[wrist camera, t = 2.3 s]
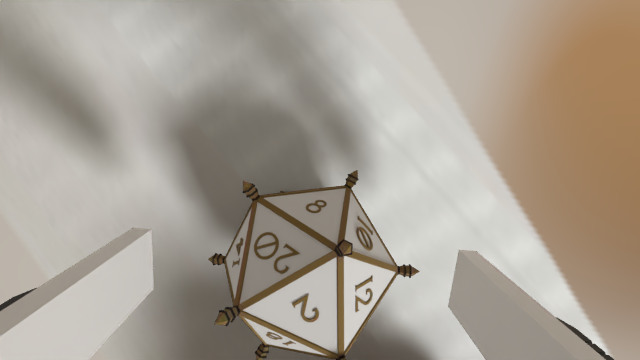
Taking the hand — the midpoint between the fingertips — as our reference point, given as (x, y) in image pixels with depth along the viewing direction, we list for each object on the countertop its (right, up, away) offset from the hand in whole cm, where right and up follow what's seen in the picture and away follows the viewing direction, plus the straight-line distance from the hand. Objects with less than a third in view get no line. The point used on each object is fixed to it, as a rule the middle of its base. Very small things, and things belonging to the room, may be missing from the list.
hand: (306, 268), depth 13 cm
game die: (0, +1, +5) cm, 5 cm away
